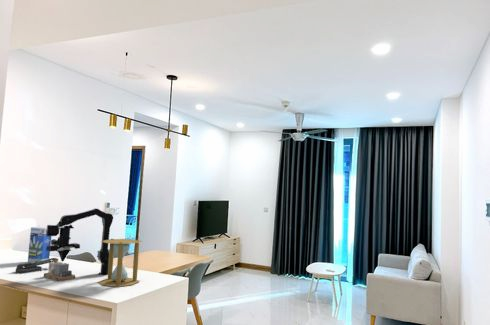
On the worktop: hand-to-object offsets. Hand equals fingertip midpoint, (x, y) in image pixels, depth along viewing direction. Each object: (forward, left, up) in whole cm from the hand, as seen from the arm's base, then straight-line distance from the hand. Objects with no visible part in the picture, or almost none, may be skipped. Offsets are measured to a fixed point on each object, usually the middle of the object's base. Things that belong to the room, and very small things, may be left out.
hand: (62, 261), depth 219 cm
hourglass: (-34, -17, -10) cm, 39 cm away
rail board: (+2, 0, -10) cm, 10 cm away
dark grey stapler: (+32, -1, -10) cm, 34 cm away
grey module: (0, 0, -8) cm, 8 cm away
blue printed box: (+57, -14, -10) cm, 60 cm away
